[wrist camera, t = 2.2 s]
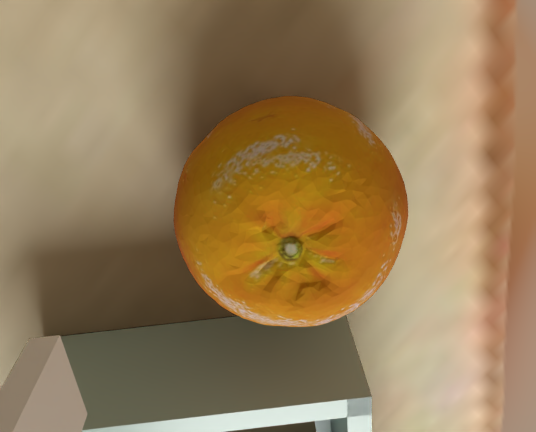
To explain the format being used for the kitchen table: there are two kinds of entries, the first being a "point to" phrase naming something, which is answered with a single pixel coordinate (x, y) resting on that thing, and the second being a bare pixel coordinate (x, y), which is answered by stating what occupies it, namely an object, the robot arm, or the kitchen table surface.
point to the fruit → (290, 212)
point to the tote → (220, 377)
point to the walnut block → (284, 428)
